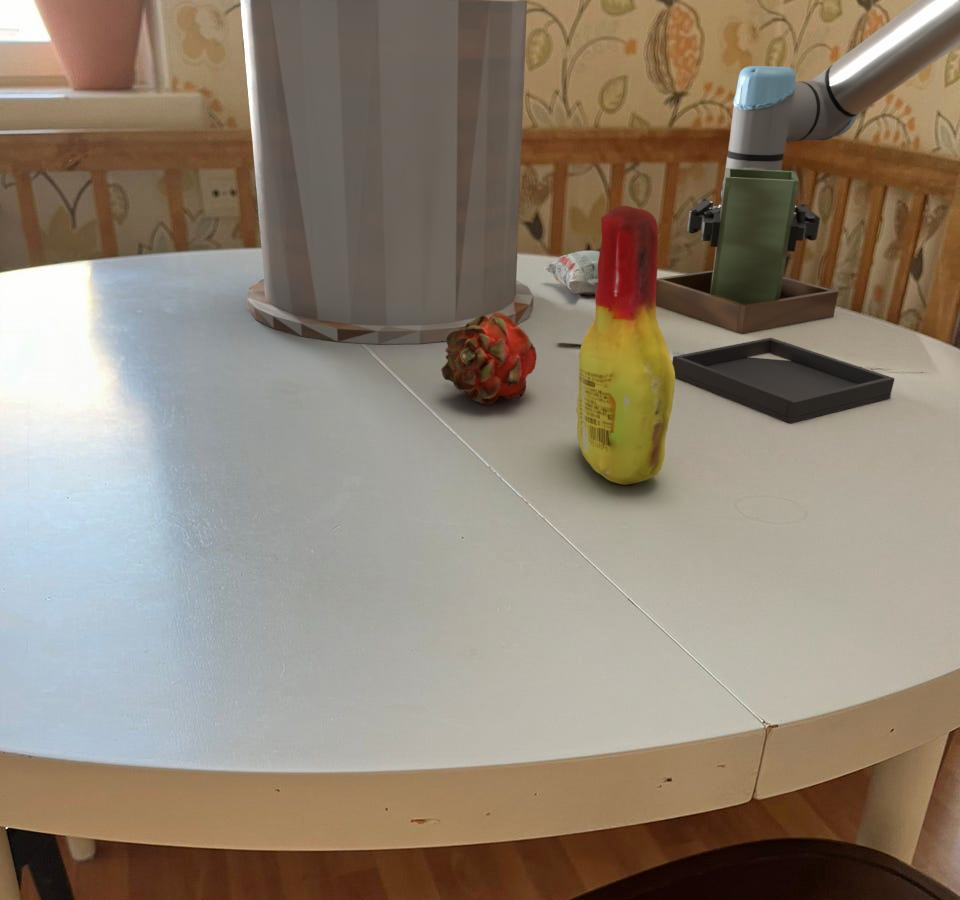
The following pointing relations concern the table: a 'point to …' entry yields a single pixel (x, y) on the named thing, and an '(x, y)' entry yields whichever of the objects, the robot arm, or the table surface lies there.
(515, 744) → the table surface
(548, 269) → the packaged food
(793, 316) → the brown wooden tray
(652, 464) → the bottle
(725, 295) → the tall basket
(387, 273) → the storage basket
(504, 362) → the dragon fruit
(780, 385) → the tray
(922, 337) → the table surface
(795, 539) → the table surface
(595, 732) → the table surface
